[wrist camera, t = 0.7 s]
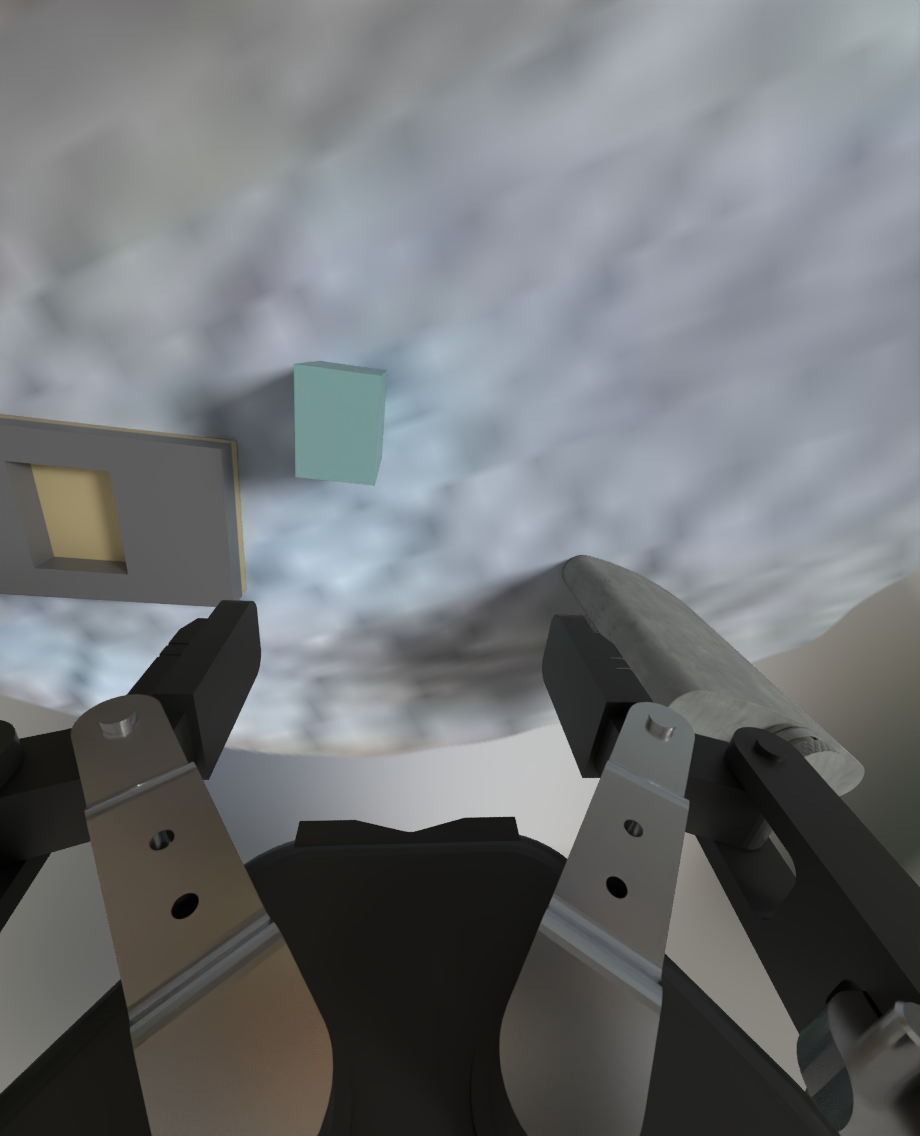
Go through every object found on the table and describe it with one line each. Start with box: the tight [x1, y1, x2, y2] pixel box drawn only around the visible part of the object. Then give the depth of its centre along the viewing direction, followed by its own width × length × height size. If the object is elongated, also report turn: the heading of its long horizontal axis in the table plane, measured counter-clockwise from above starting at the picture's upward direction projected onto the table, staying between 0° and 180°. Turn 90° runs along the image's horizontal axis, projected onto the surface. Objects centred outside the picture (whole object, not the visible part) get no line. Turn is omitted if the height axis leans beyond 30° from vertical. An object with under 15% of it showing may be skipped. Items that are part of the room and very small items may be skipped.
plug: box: [294, 361, 387, 485], centre depth 29 cm, size 6×4×8 cm
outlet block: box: [0, 414, 246, 607], centre depth 32 cm, size 12×20×3 cm, turn 82°
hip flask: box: [563, 555, 864, 796], centre depth 33 cm, size 16×4×20 cm, turn 60°
